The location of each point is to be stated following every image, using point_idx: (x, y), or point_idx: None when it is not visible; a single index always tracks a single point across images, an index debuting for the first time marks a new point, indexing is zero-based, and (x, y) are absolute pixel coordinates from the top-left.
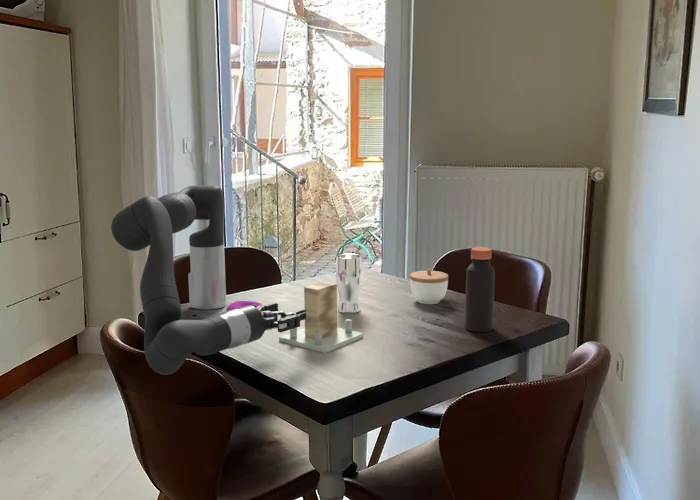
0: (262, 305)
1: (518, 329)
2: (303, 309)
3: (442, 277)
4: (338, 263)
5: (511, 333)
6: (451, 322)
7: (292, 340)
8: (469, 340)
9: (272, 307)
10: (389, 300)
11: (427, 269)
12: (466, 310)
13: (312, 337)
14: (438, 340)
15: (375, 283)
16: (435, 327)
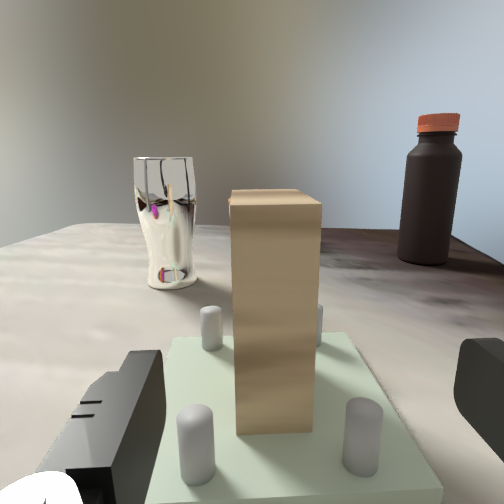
0: (38, 479)
1: (451, 248)
2: (490, 342)
3: None
4: (150, 173)
5: (467, 255)
6: (366, 259)
7: (219, 500)
8: (481, 280)
9: (145, 413)
10: (204, 249)
11: (256, 189)
12: (419, 231)
13: (280, 427)
14: (457, 296)
15: (136, 233)
16: (375, 273)
